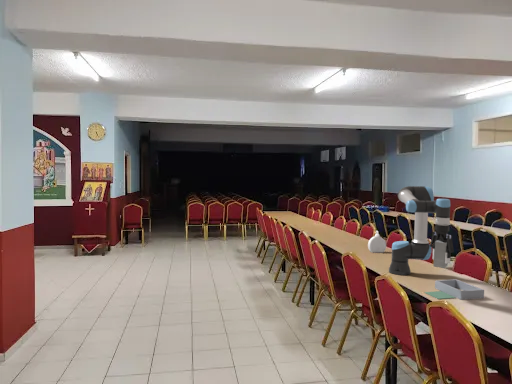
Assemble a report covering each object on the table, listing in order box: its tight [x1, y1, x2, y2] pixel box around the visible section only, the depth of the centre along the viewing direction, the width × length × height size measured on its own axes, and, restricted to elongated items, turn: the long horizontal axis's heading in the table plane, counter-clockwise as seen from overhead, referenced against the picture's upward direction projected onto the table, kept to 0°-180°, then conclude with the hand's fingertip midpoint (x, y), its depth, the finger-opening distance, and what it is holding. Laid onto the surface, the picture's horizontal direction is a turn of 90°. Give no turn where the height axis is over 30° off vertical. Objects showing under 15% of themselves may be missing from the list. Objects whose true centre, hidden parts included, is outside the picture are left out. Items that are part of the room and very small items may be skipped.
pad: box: [424, 290, 456, 300], centre depth 220 cm, size 12×12×1 cm
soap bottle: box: [367, 230, 387, 254], centre depth 344 cm, size 16×5×20 cm, turn 94°
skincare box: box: [433, 240, 449, 269], centre depth 219 cm, size 8×7×16 cm
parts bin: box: [434, 278, 485, 301], centre depth 225 cm, size 22×16×5 cm
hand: (441, 261), depth 219 cm, fingers closed on skincare box, 10 cm apart
